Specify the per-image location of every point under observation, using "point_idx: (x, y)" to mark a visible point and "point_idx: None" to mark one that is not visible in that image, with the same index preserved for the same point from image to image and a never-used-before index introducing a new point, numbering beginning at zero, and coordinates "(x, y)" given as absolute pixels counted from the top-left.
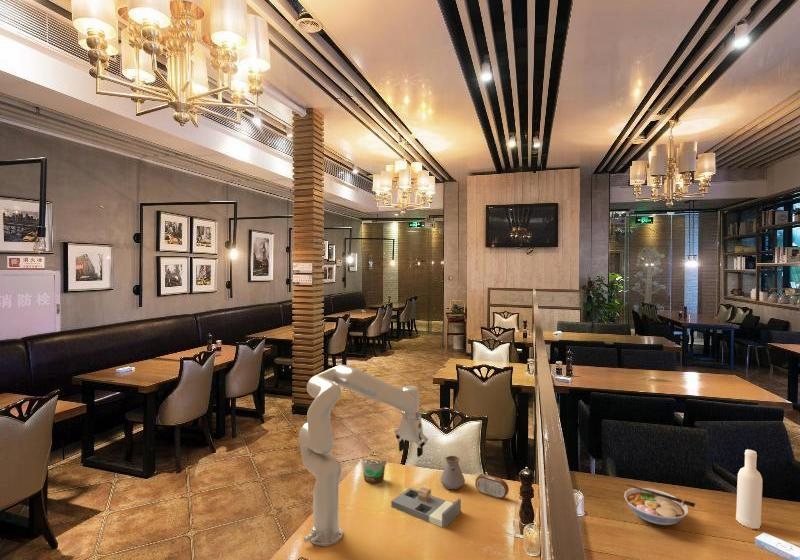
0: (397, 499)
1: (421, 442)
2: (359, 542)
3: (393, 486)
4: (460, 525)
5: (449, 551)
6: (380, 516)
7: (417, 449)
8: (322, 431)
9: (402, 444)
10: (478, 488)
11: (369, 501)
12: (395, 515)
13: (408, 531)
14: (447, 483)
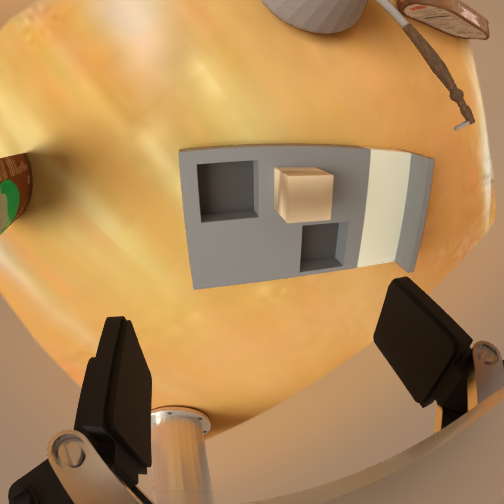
0: (205, 267)
1: (492, 392)
2: (243, 401)
3: (88, 160)
4: None
5: None
6: (207, 331)
7: (415, 394)
8: None
9: (137, 418)
10: (405, 10)
11: (113, 301)
12: (241, 301)
13: (316, 323)
14: (322, 30)
